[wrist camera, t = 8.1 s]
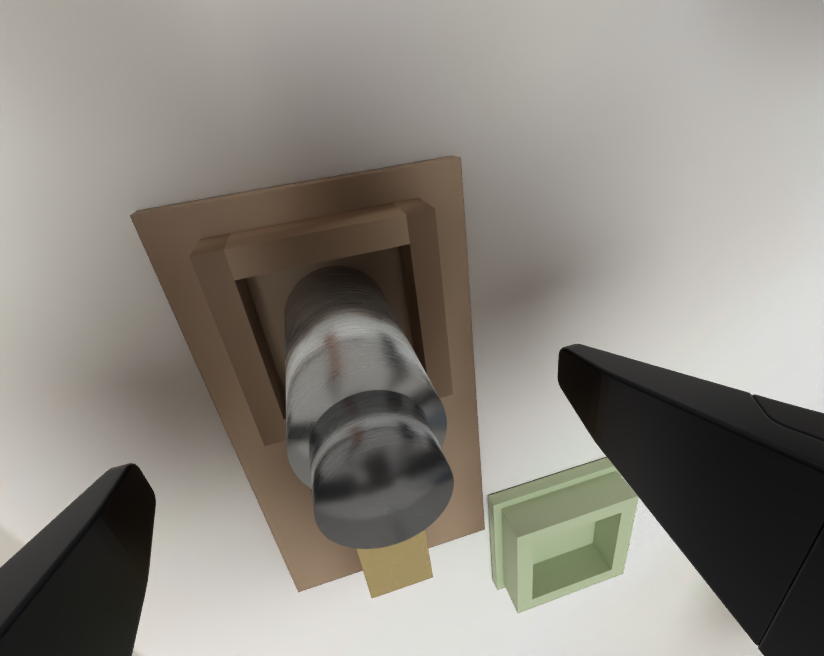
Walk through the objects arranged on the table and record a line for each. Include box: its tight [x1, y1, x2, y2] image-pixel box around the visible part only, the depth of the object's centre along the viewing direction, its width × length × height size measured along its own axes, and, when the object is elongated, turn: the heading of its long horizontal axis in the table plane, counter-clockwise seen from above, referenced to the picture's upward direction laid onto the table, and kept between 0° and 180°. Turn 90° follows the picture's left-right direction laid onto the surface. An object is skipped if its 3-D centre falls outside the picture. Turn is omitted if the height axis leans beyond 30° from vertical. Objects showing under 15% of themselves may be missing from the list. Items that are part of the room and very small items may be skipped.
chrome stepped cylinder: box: [285, 266, 454, 549], centre depth 10 cm, size 3×3×8 cm
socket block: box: [130, 156, 485, 592], centre depth 15 cm, size 9×17×2 cm, turn 7°
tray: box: [488, 457, 638, 613], centre depth 22 cm, size 7×7×2 cm
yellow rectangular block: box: [357, 530, 433, 598], centre depth 16 cm, size 2×6×3 cm, turn 7°
